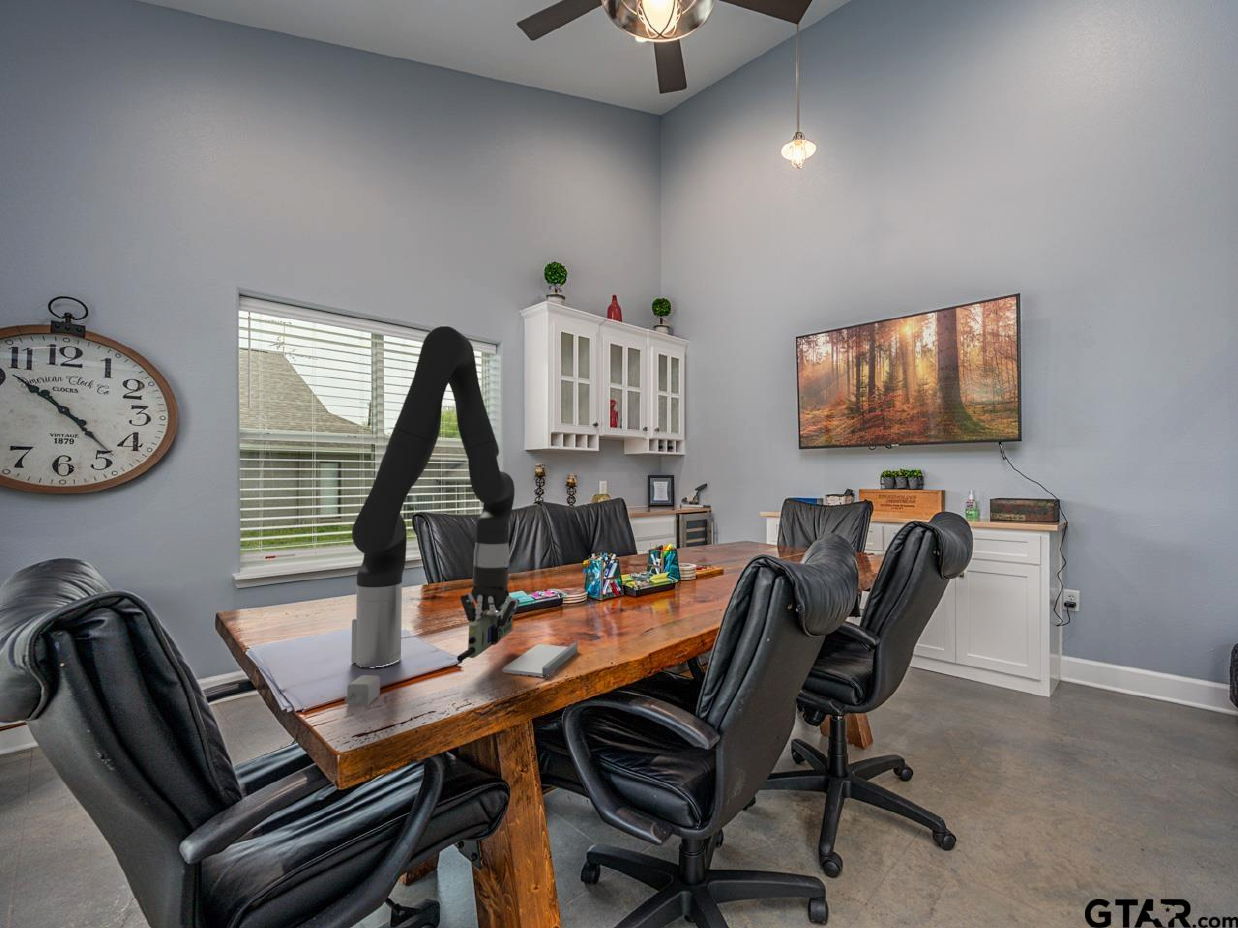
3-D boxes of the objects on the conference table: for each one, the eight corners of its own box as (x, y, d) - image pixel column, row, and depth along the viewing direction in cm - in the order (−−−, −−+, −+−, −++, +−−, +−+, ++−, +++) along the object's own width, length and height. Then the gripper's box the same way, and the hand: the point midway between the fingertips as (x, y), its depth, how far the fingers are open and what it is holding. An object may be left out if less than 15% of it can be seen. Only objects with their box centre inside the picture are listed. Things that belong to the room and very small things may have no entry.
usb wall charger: (379, 697, 109) (380, 675, 109) (362, 712, 102) (362, 689, 102) (358, 696, 109) (358, 674, 109) (339, 712, 103) (339, 689, 103)
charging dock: (502, 672, 123) (502, 662, 123) (538, 647, 140) (538, 638, 140) (546, 677, 120) (546, 667, 120) (577, 651, 138) (577, 642, 138)
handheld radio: (514, 632, 139) (467, 666, 114) (501, 630, 140) (452, 664, 115) (515, 603, 139) (469, 631, 115) (502, 602, 140) (453, 630, 115)
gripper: (453, 562, 126) (450, 643, 125) (512, 568, 121) (509, 652, 121) (471, 558, 133) (468, 634, 133) (528, 563, 129) (525, 642, 129)
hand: (488, 642), depth 127 cm, fingers closed on handheld radio, 2 cm apart
